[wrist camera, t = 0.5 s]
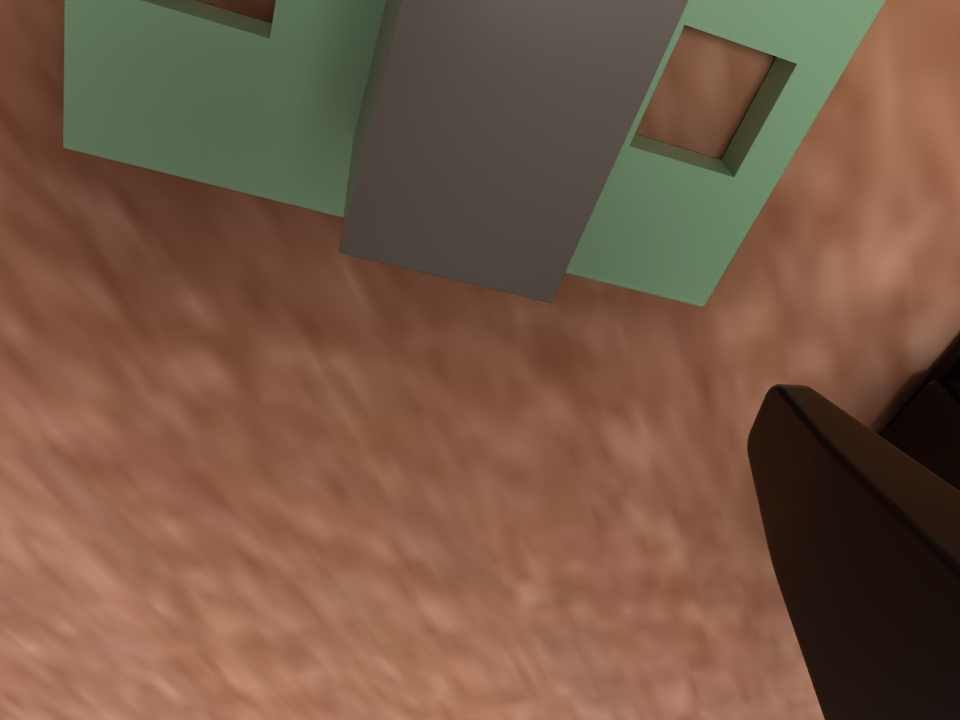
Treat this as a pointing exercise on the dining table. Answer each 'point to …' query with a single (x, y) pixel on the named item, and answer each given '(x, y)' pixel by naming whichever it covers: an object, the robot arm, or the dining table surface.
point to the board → (311, 88)
